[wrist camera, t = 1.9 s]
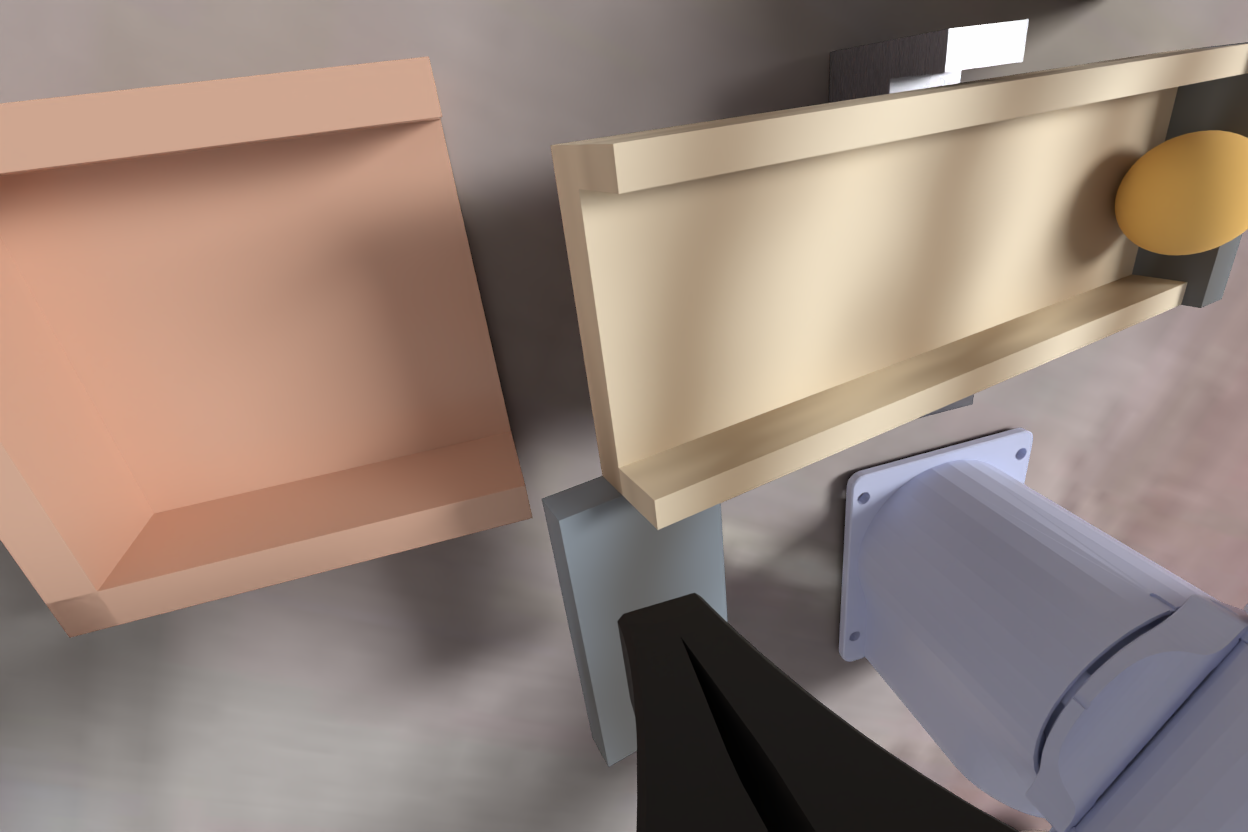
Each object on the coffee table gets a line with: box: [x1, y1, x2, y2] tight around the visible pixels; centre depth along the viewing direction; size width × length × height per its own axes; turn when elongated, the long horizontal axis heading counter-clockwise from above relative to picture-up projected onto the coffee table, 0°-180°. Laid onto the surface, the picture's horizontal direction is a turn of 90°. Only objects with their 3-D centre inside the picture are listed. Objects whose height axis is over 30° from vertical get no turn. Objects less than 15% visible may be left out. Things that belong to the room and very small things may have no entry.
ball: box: [1115, 130, 1248, 255], centre depth 17 cm, size 3×3×3 cm
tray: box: [0, 57, 532, 638], centre depth 14 cm, size 10×11×4 cm
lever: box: [542, 42, 1248, 767], centre depth 17 cm, size 22×15×3 cm
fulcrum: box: [829, 19, 1029, 418], centre depth 17 cm, size 9×2×4 cm, turn 7°
